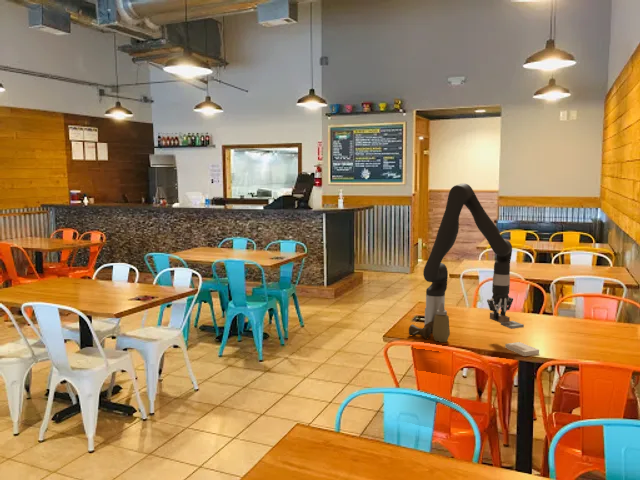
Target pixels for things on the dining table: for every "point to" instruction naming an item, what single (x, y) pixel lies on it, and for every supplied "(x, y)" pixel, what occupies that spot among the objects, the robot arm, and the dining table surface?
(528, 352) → the ceramic tile
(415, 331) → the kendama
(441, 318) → the squeeze bottle
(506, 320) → the dark piece
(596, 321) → the dining table surface
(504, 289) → the robot arm
